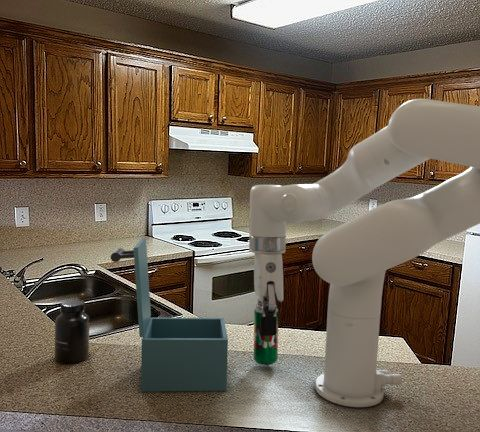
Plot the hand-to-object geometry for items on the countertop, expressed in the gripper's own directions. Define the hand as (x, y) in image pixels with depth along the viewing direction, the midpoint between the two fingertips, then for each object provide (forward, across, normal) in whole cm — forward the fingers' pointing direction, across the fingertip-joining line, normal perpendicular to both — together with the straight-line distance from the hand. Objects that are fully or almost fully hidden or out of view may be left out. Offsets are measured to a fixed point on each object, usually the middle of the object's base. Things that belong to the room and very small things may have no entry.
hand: (266, 329), depth 95 cm
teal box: (+8, -4, +17) cm, 19 cm away
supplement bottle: (+7, +5, +41) cm, 42 cm away
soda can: (+7, 0, 0) cm, 7 cm away
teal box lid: (-11, -5, +24) cm, 27 cm away
